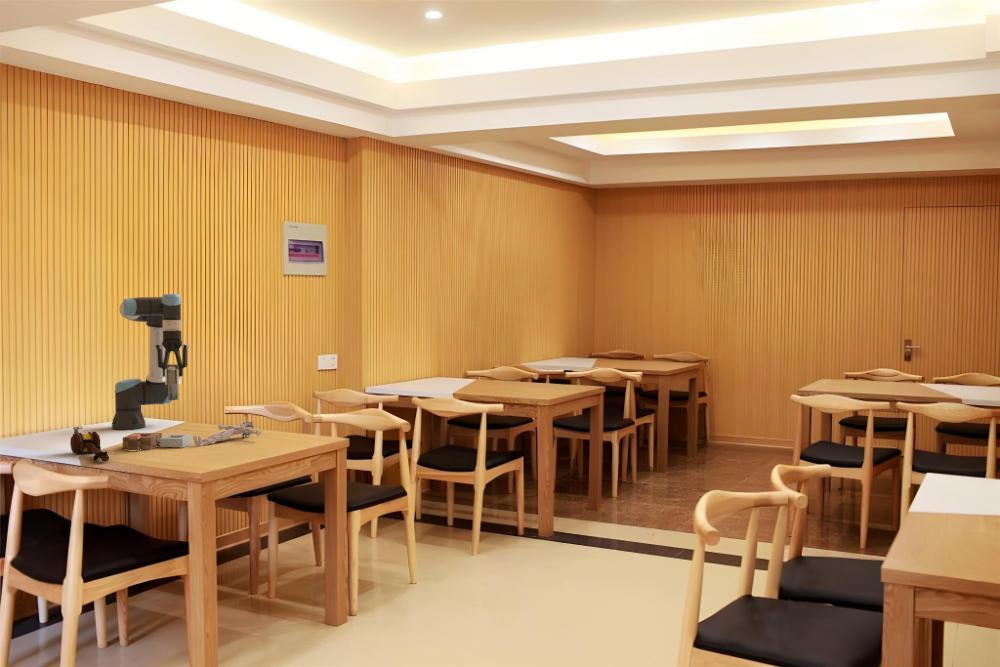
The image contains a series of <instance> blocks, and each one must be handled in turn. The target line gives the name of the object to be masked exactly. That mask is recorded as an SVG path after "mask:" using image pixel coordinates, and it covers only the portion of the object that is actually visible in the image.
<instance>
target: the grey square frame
mask: <svg viewBox="0 0 1000 667" xmlns="http://www.w3.org/2000/svg"><path fill="white" fill-rule="evenodd" d="M159 441H160V446H159V448H160V447H180V448H179V449H184V448H186V447H188V446H190V445H191V444H192V434H166V435H164V436H162V438H160V439H159ZM189 444H190V445H189ZM187 445H188V446H187ZM185 446H186V447H185ZM183 447H184V448H183Z"/></svg>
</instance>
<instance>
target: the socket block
mask: <svg viewBox="0 0 1000 667" xmlns="http://www.w3.org/2000/svg"><path fill="white" fill-rule="evenodd" d="M132 434H141V438H140V439H137V442H133V439H129V436H130V435H132ZM162 437H163V433H162V432H134V433H131V434H129V435H125V436H123V437H122V450H123V449H128V450H140V449H152V448H154V447H156V446H158V447H160V446H159V445H160V441H159V439H160V438H162ZM156 448H157V447H156ZM154 449H155V448H154ZM152 450H153V449H152ZM140 451H141V450H140Z"/></svg>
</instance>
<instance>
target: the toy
mask: <svg viewBox="0 0 1000 667" xmlns="http://www.w3.org/2000/svg"><path fill="white" fill-rule="evenodd" d="M217 428H218V430H220V431H219V432H216V433H214V434H211V435H209V437H206V438H203V439H202V436H200V435H193V436H192V440H193V442H194V445H195V446H196V447H203V446H204V445H205V446H207V445H214V444H215V443H216V442H218V441H219V442H221V441H225V440H226V441H228V440H230V438H231V437H232V436H234V435H235V436H236V435H240V434H241V436H242V438H243V439H246V438H248V437H250V436H251V435H256V436H261V435H262V433H261V430H260V429H259V430H258V429H254V424H253V421H252V420H251V421H249V420H247V421H243V422H242V423H241V424H240V426H239V425H235V424H229V425H222V424H220V423H219V424H218V425H217ZM221 430H222V431H221Z"/></svg>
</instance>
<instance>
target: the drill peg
mask: <svg viewBox="0 0 1000 667" xmlns="http://www.w3.org/2000/svg"><path fill="white" fill-rule="evenodd" d="M177 369H178V364H177V363H176V364H174V363H172V364H168V366H167V370H168V400H172V401H178V400H179V384H177Z"/></svg>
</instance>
